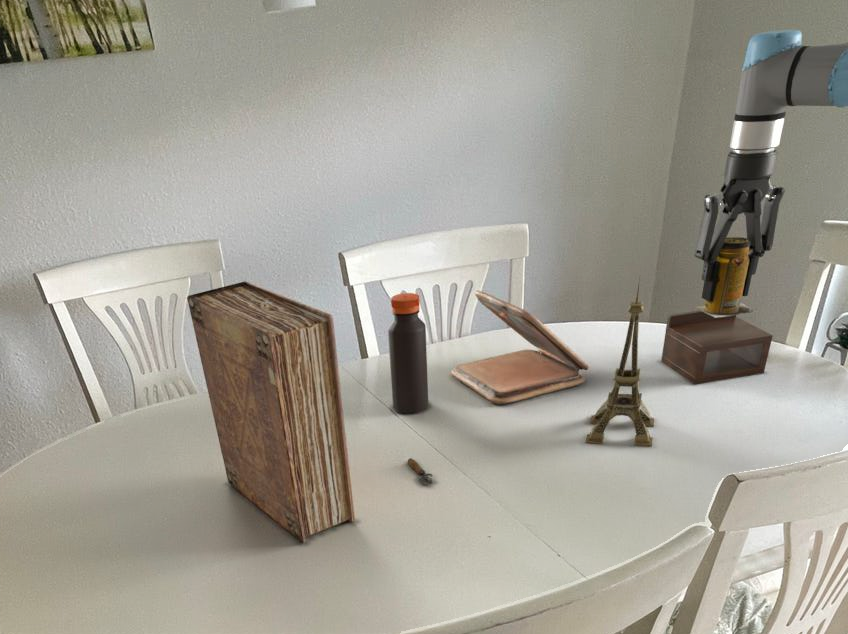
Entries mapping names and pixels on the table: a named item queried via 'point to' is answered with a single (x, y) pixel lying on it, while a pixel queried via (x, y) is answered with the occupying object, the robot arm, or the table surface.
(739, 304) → the condiment
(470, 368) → the case
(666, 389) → the table surface
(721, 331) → the box
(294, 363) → the book
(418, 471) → the can opener
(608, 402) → the eiffel tower
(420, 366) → the vinegar
